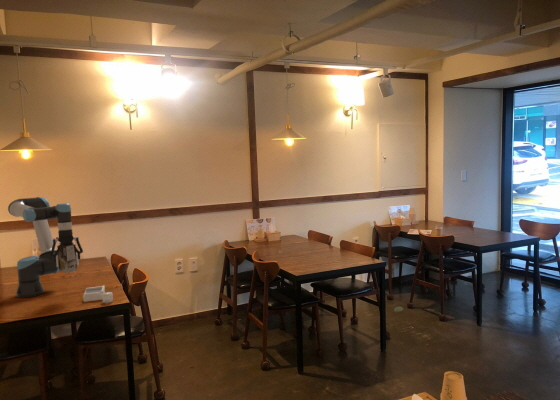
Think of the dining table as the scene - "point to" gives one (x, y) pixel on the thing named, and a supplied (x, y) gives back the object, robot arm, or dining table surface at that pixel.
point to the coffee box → (67, 258)
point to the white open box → (93, 293)
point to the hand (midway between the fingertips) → (67, 265)
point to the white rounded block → (107, 297)
